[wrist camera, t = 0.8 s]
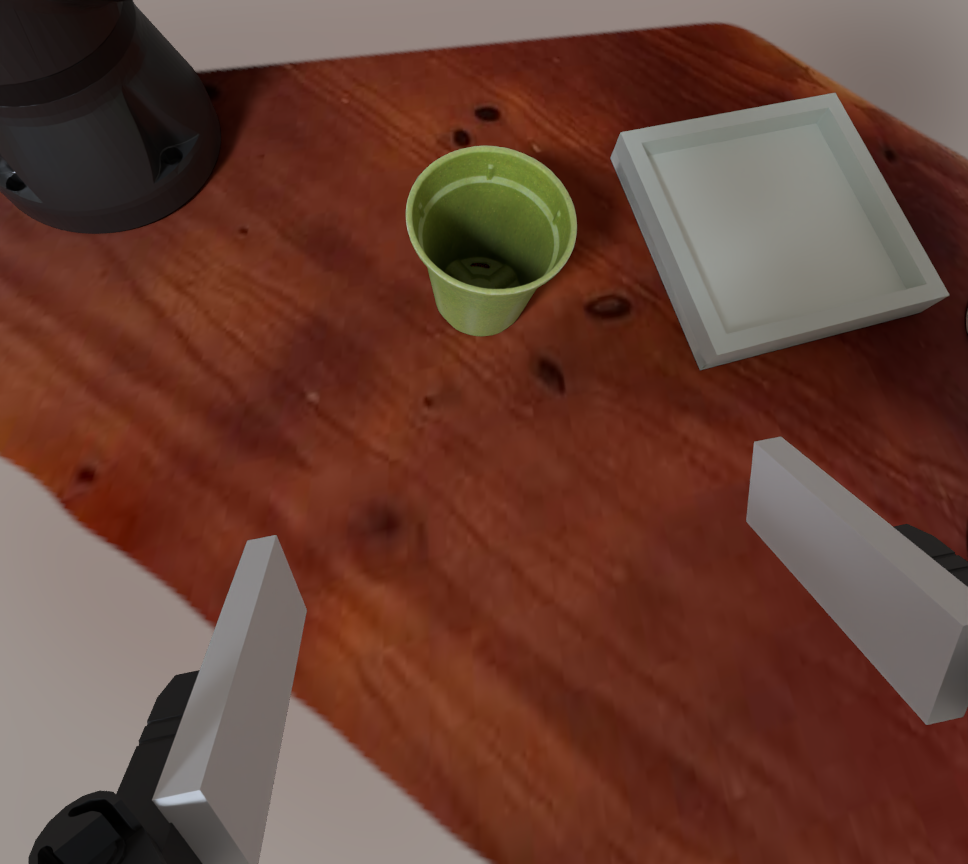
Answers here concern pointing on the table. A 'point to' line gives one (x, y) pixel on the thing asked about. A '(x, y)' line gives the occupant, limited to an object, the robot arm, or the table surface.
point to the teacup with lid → (967, 321)
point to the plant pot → (489, 233)
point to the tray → (772, 228)
